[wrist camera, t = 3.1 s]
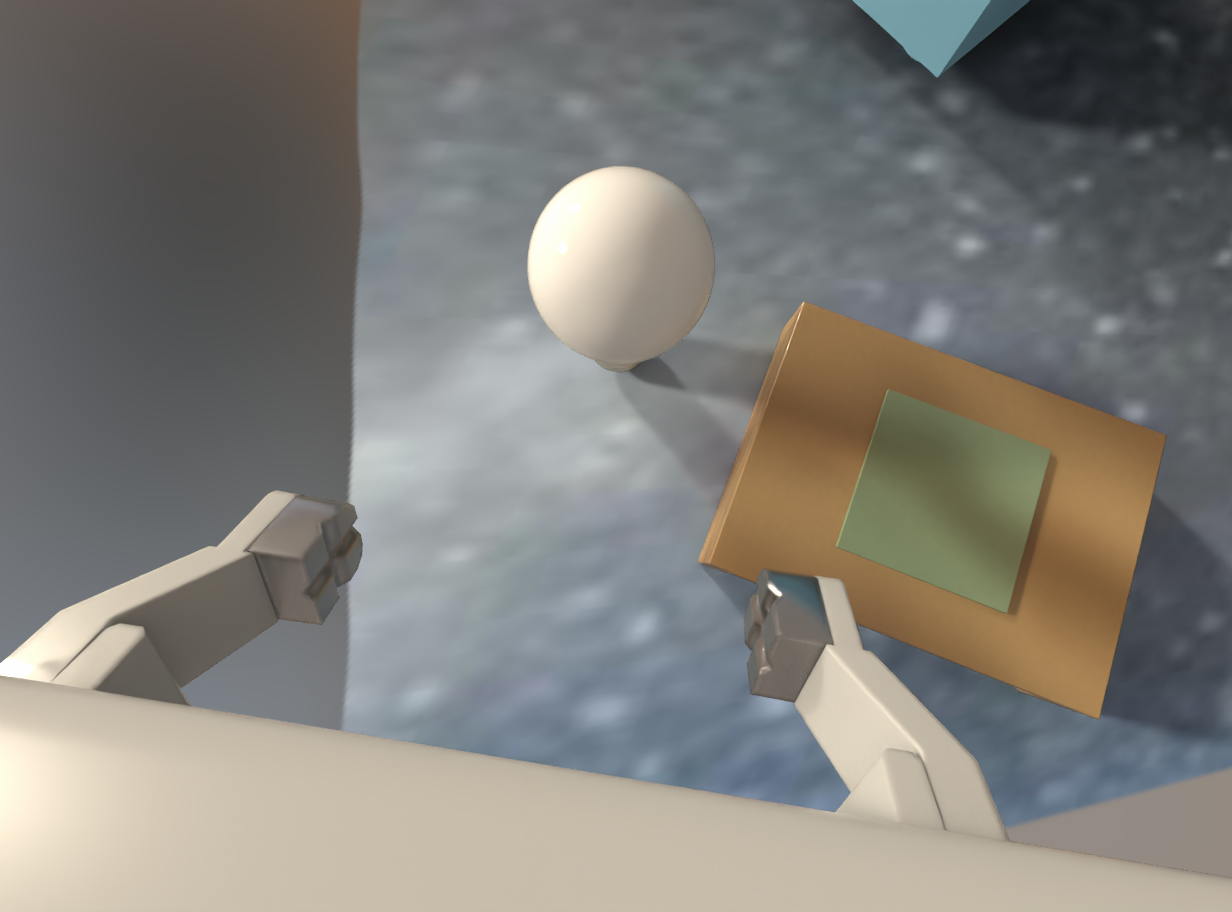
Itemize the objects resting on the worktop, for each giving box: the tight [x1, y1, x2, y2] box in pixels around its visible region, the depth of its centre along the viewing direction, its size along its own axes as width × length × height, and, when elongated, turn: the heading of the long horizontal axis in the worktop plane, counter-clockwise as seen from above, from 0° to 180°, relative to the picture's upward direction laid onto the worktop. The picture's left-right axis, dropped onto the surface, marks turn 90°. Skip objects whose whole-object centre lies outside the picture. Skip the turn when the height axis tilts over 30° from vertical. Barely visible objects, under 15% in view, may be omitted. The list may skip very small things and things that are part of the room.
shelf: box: [698, 302, 1167, 719], centre depth 25 cm, size 12×16×3 cm
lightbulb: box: [527, 166, 715, 372], centre depth 22 cm, size 6×6×11 cm
